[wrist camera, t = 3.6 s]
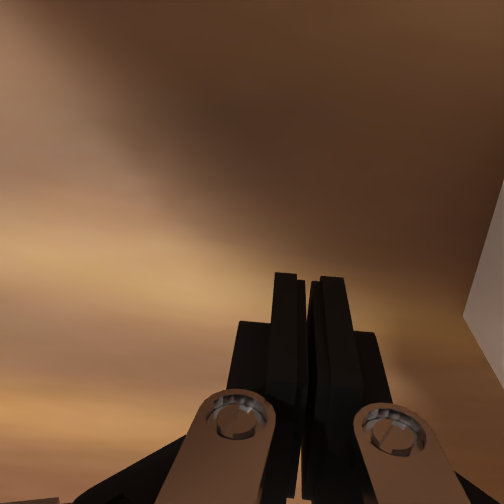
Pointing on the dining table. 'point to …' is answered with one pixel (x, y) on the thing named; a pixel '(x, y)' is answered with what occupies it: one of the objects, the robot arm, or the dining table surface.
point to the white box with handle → (490, 295)
